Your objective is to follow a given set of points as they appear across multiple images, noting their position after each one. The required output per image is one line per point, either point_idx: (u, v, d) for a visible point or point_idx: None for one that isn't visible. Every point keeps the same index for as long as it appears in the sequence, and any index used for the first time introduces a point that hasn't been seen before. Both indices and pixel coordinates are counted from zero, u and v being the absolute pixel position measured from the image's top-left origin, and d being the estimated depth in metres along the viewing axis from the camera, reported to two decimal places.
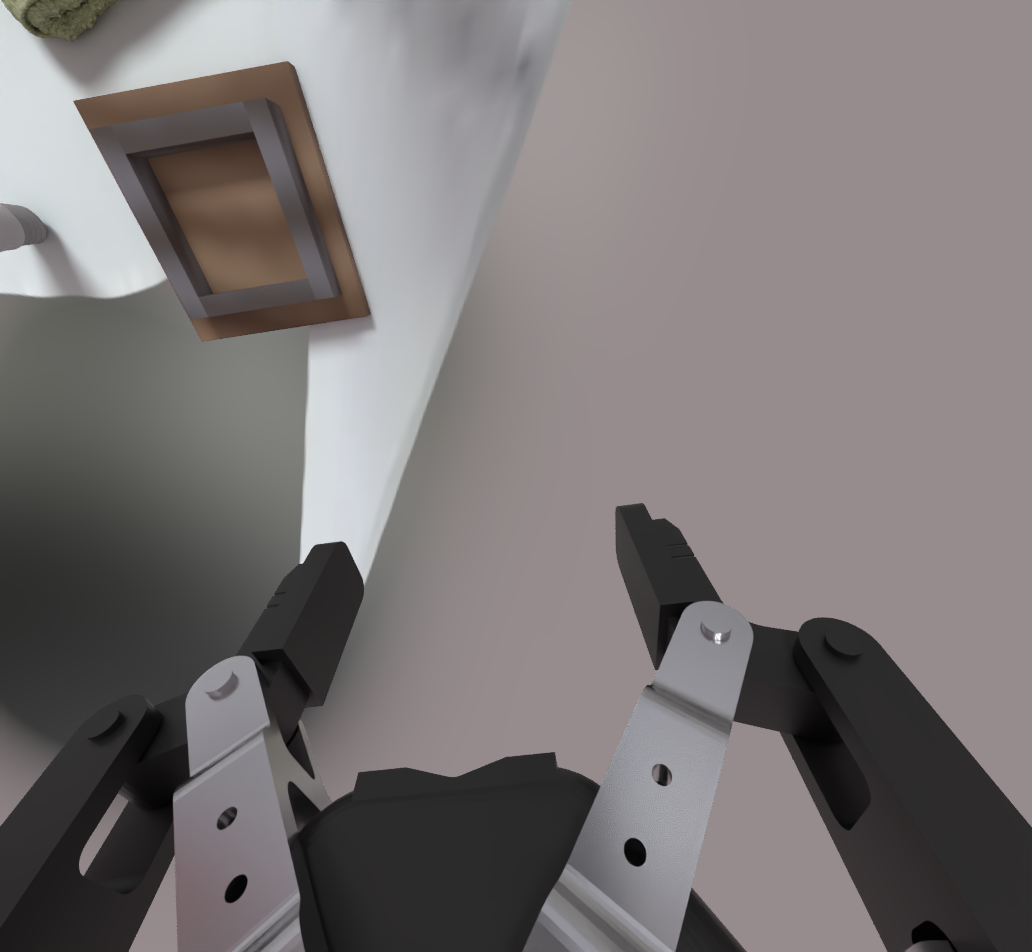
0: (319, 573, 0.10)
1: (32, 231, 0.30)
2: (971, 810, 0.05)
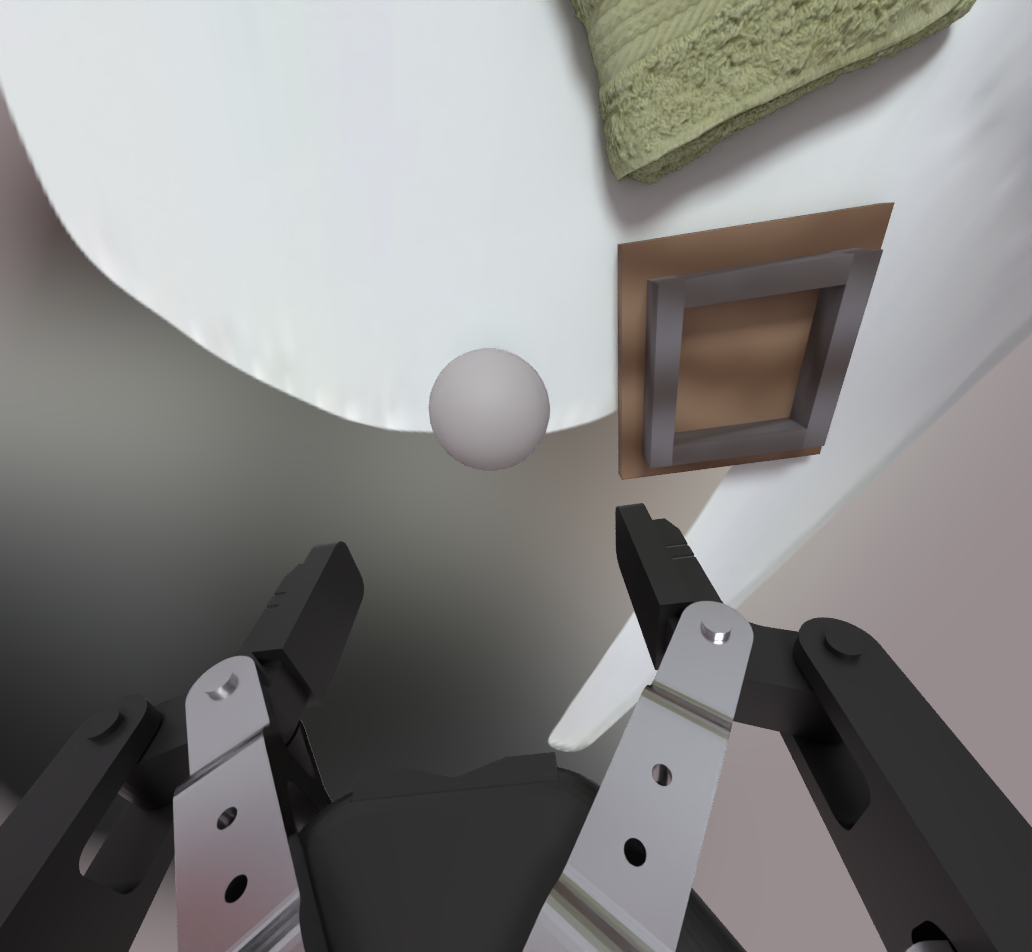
0: (319, 573, 0.10)
1: None
2: (971, 810, 0.05)
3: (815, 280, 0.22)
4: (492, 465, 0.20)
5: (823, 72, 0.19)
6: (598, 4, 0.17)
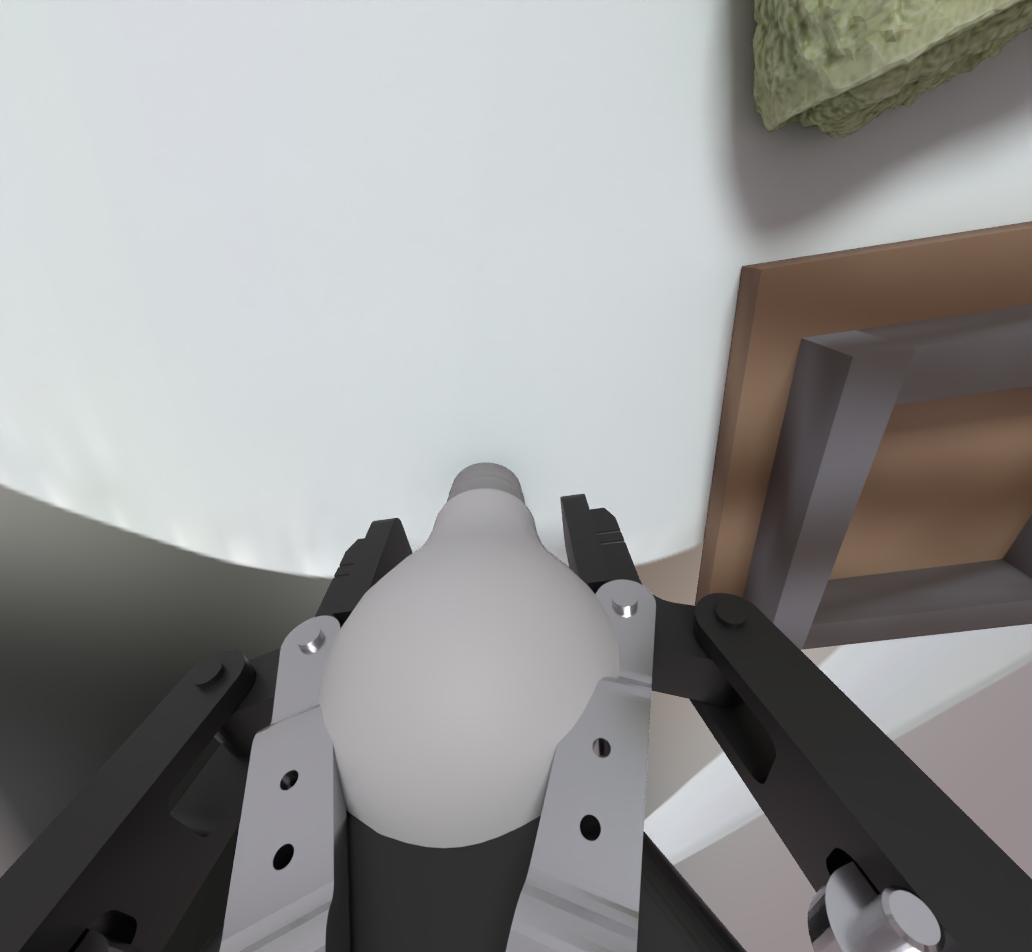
0: (383, 545, 0.11)
1: None
2: (848, 738, 0.06)
3: None
4: None
5: None
6: None
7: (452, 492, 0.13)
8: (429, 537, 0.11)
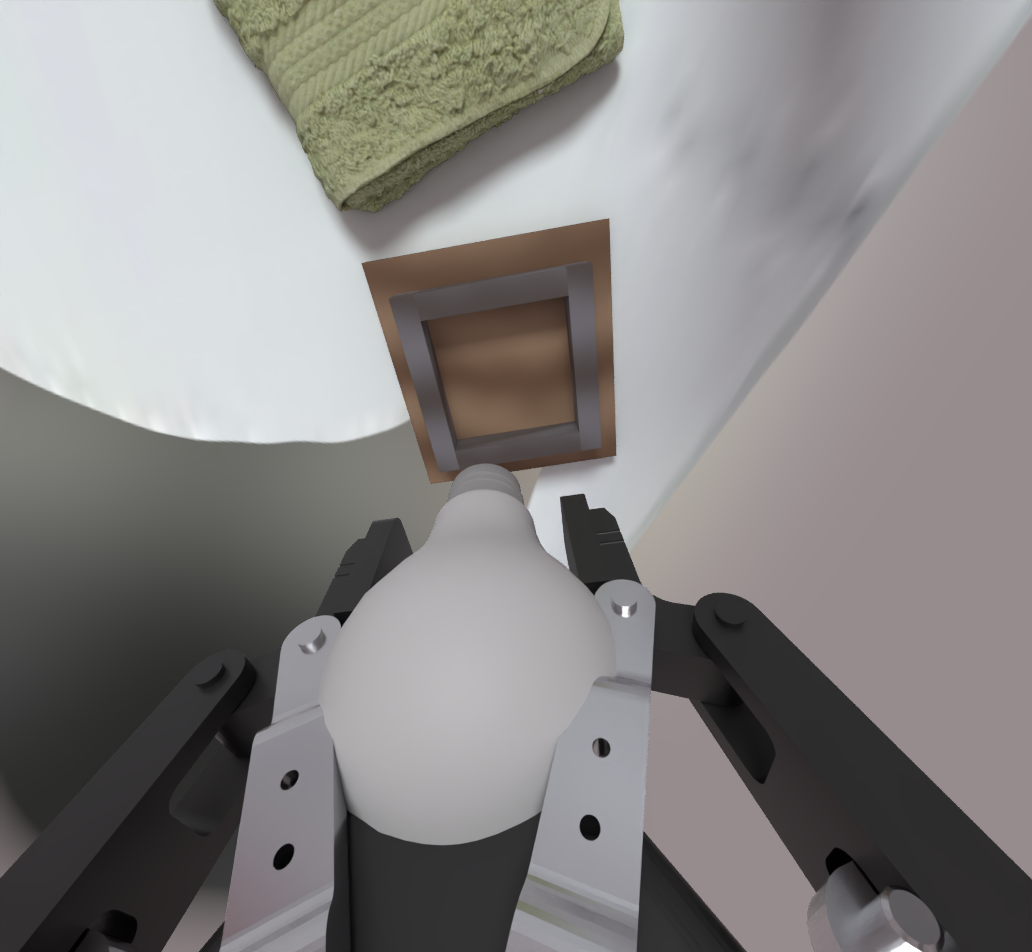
0: (383, 545, 0.11)
1: None
2: (848, 738, 0.06)
3: (537, 292, 0.24)
4: None
5: (488, 110, 0.20)
6: (261, 58, 0.19)
7: (452, 494, 0.13)
8: None
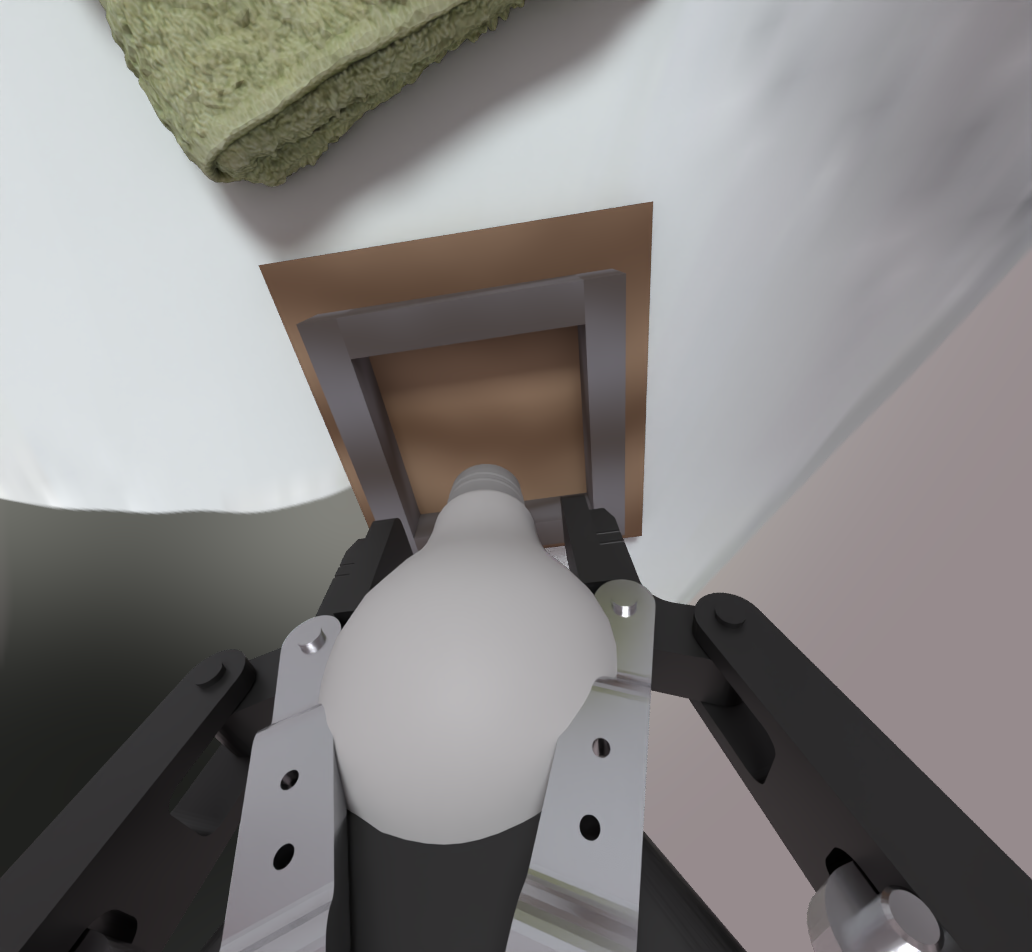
0: (383, 545, 0.11)
1: None
2: (847, 738, 0.06)
3: (536, 318, 0.15)
4: None
5: None
6: None
7: (453, 494, 0.13)
8: (429, 538, 0.11)
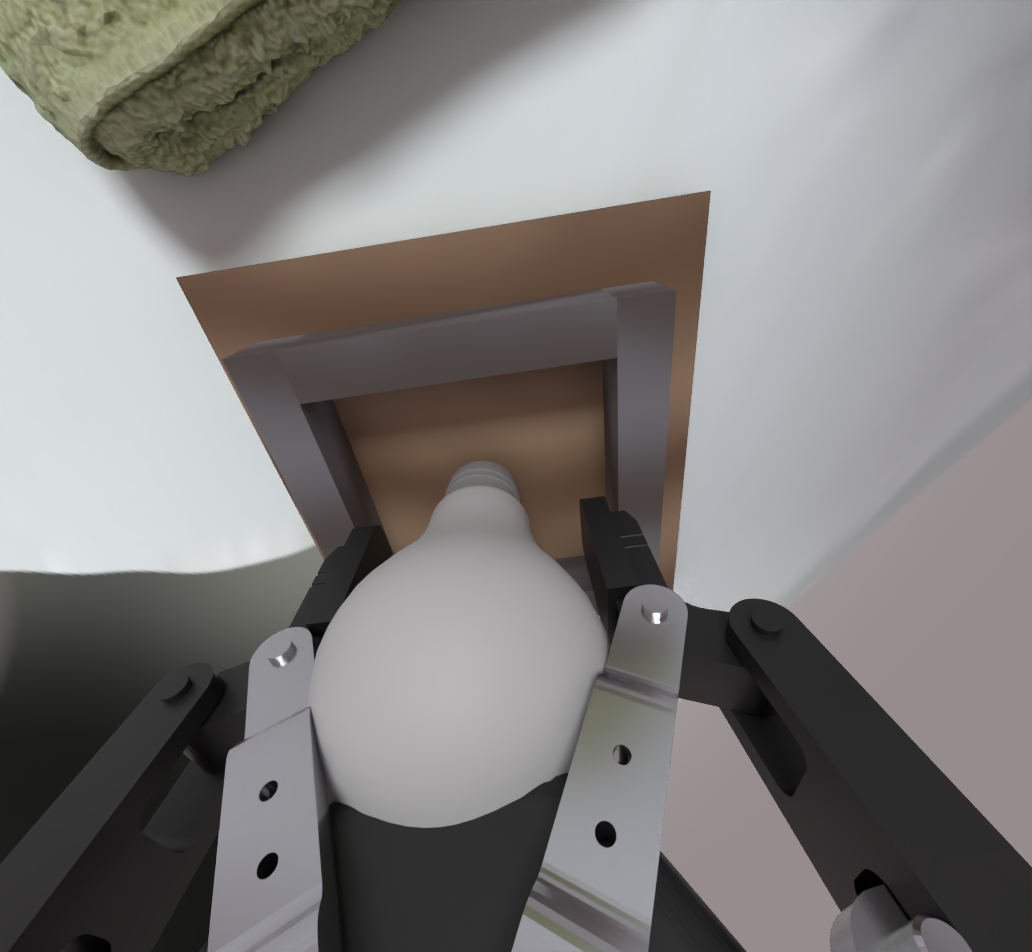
0: (361, 553, 0.11)
1: None
2: (888, 759, 0.05)
3: (550, 351, 0.11)
4: None
5: None
6: None
7: (449, 490, 0.13)
8: None
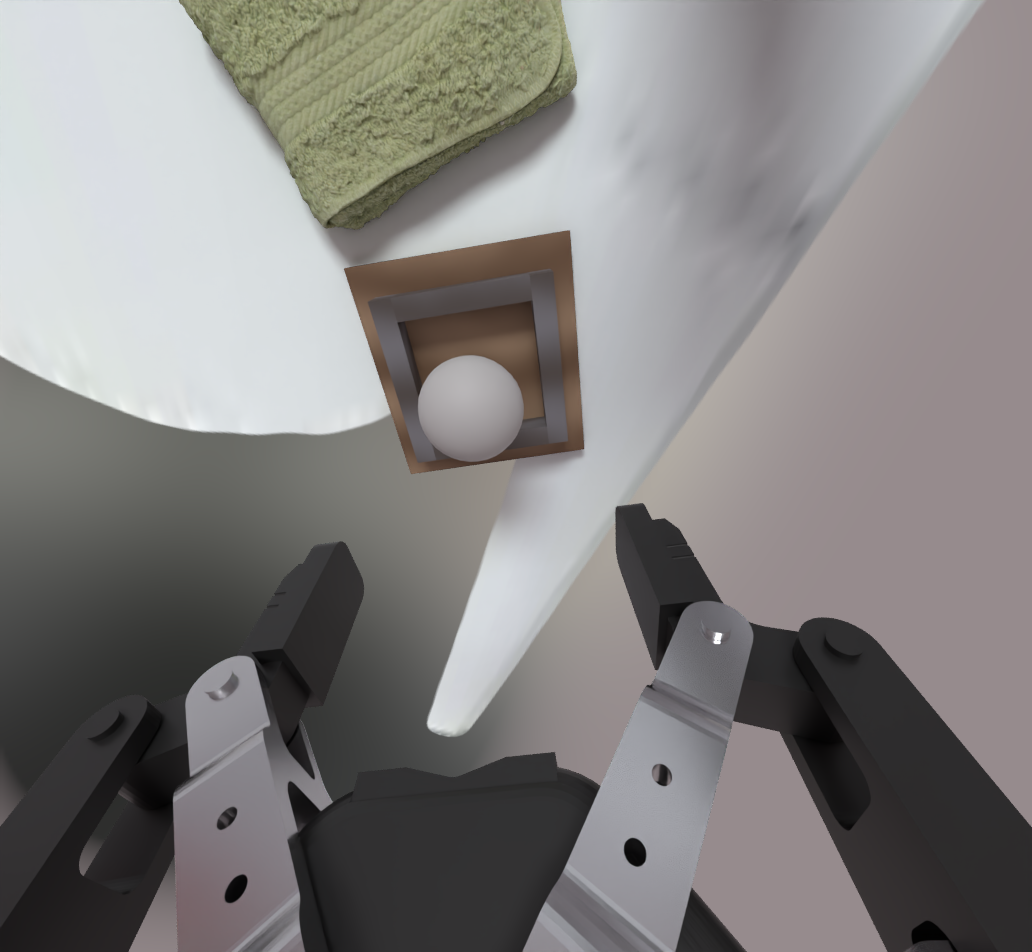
0: (319, 573, 0.10)
1: None
2: (971, 810, 0.05)
3: (504, 297, 0.26)
4: (473, 456, 0.23)
5: (456, 140, 0.23)
6: (252, 96, 0.22)
7: None
8: None
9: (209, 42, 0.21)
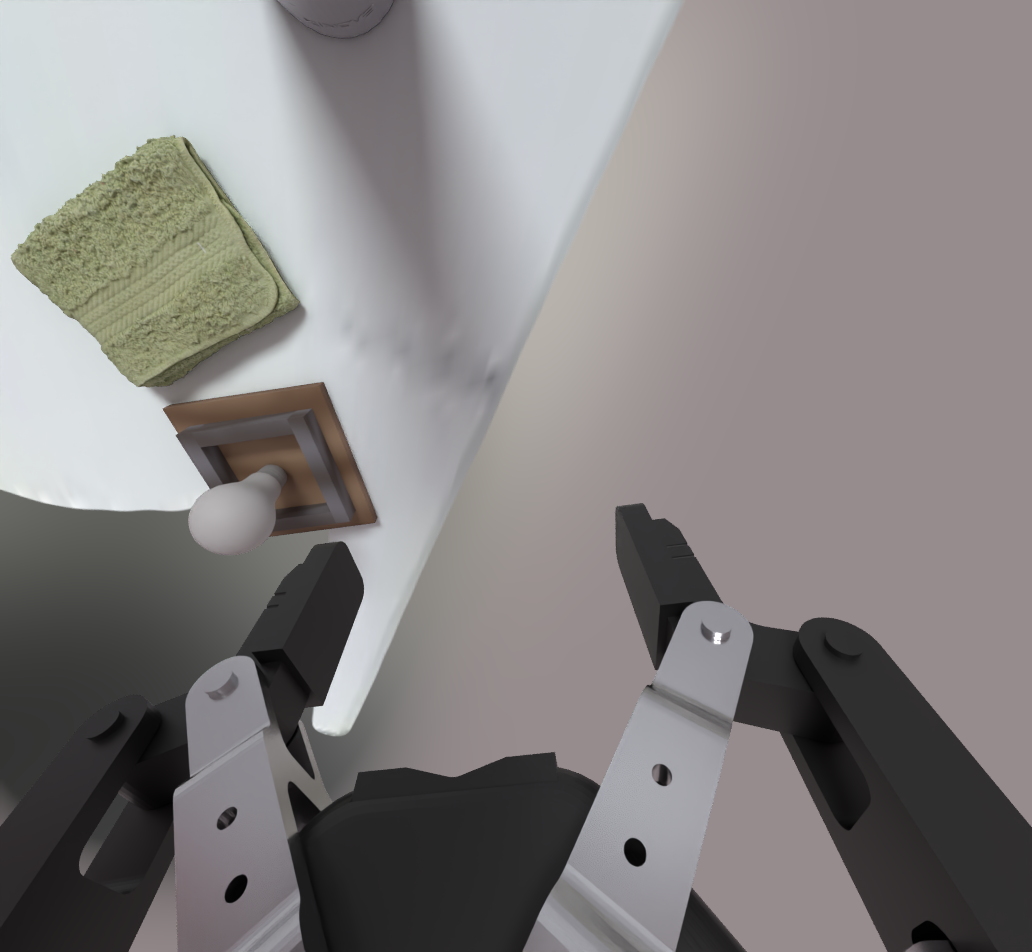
0: (319, 573, 0.10)
1: (282, 484, 0.40)
2: (971, 810, 0.05)
3: (273, 432, 0.37)
4: (228, 554, 0.34)
5: (217, 340, 0.34)
6: (73, 317, 0.32)
7: None
8: None
9: (39, 288, 0.32)
